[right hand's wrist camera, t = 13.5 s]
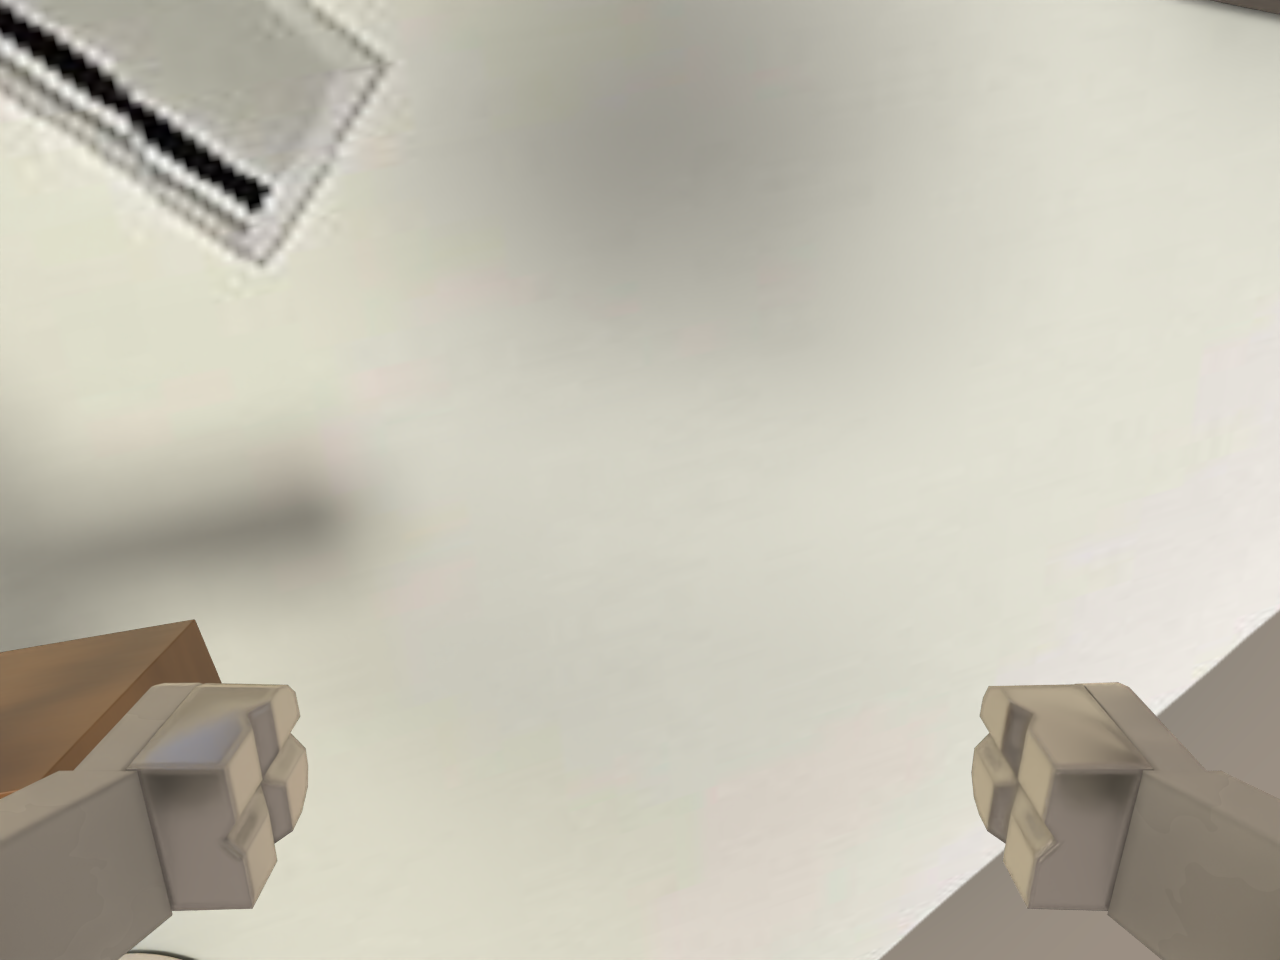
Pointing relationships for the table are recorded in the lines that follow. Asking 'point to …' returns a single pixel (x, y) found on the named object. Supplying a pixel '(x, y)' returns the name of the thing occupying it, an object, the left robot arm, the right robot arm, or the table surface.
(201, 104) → the table surface
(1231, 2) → the toy
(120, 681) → the bar
